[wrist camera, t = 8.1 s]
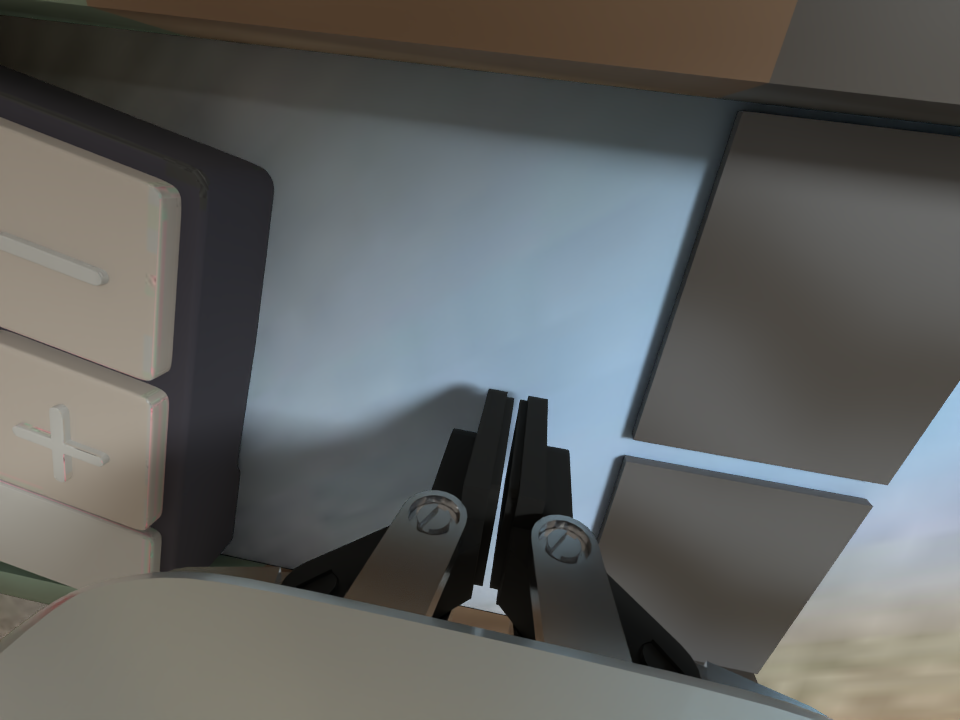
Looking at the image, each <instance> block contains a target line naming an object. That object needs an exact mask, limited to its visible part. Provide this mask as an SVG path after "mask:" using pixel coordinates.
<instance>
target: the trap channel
mask: <svg viewBox="0 0 960 720" xmlns="http://www.w3.org/2000/svg"><path fill="white" fill-rule="evenodd" d="M0 15H7V16H16V17H24V18H33V19H41V20H50V21H59V22H67V23H76V24H84V25H93V26H101V27H110V28H119V29H127V30H136V31H144V32H153V33H161V34H170V35H178V36H187V37H196V38H204V39H213V40H221V41H230V42H238V43H247V44H256V45H264V46H273V47H281V48H290V49H298V50H307V51H315V52H324V53H333V54H341V55H350V56H358V57H367V58H375V59H384V60H393V61H401V62H410V63H418V64H427V65H435V66H444V67H452V68H461V69H470V70H478V71H487V72H495V73H504V74H512V75H521V76H530V77H538V78H547V79H555V80H564V81H572V82H581V83H589V84H598V85H607V86H615V87H624V88H632V89H641V90H649V91H658V92H667V93H675V94H684V95H692V96H701V97H709V98H718V99H726V100H735V101H744V102H752V103H761V104H769V105H778V106H786V107H795V108H804V109H812V110H821V111H829V112H838V113H846V114H855V115H863V116H872V117H881V118H889V119H898V120H906V121H915V122H923V123H932V124H941V125H949V126H958V127H960V0H0ZM959 381H960V137H958V136H950V135H942V134H933V133H925V132H916V131H908V130H899V129H891V128H882V127H874V126H866V125H857V124H849V123H840V122H832V121H823V120H815V119H806V118H798V117H790V116H781V115H773V114H764V113H756V112H747V111H741V112H738V113H737V116H736V119H735V122H734V125H733V128H732V131H731V134H730V137H729V140H728V143H727V146H726V149H725V152H724V155H723V159H722V162H721V165H720V168H719V171H718V174H717V177H716V180H715V183H714V186H713V189H712V192H711V195H710V198H709V201H708V204H707V207H706V210H705V213H704V216H703V219H702V222H701V225H700V228H699V231H698V235H697V238H696V241H695V244H694V247H693V250H692V253H691V256H690V259H689V262H688V265H687V268H686V271H685V274H684V277H683V280H682V283H681V286H680V289H679V292H678V295H677V298H676V301H675V304H674V307H673V311H672V314H671V317H670V320H669V323H668V326H667V329H666V332H665V335H664V338H663V341H662V344H661V347H660V350H659V353H658V356H657V359H656V362H655V365H654V368H653V371H652V374H651V377H650V380H649V383H648V387H647V390H646V393H645V396H644V399H643V402H642V405H641V408H640V411H639V414H638V417H637V420H636V423H635V426H634V429H633V432H632V436H633V439H634V440H637V441H643V442H649V443H654V444H660V445H665V446H671V447H676V448H682V449H688V450H693V451H699V452H704V453H710V454H716V455H721V456H727V457H732V458H738V459H744V460H749V461H755V462H760V463H766V464H772V465H777V466H783V467H788V468H794V469H800V470H805V471H811V472H816V473H822V474H828V475H833V476H839V477H844V478H850V479H856V480H861V481H867V482H872V483H878V484H884V485H888V484H889V482H890V481H891V480H892V478H893V477H894V475H895V474H896V472H897V471H898V469H899V468H900V466H901V465H902V464H903V462H904V461H905V459H906V458H907V456H908V455H909V453H910V452H911V450H912V449H913V448H914V446H915V445H916V443H917V442H918V440H919V439H920V437H921V436H922V435H923V433H924V432H925V430H926V429H927V427H928V426H929V424H930V423H931V421H932V420H933V419H934V417H935V416H936V414H937V413H938V411H939V410H940V408H941V407H942V406H943V404H944V403H945V401H946V400H947V398H948V397H949V395H950V394H951V392H952V391H953V390H954V388H955V387H956V385H957V384H958V382H959ZM872 507H873V506H872V505H871V504H870V503H869V502H868V500H867V499H863V498H858V497H852V496H847V495H841V494H836V493H830V492H825V491H819V490H814V489H808V488H803V487H797V486H792V485H786V484H781V483H775V482H770V481H764V480H759V479H753V478H748V477H742V476H737V475H731V474H726V473H720V472H715V471H709V470H704V469H698V468H693V467H687V466H682V465H676V464H671V463H665V462H660V461H654V460H648V459H643V458H637V457H632V456H626V455H625V456H624V459H623V463H622V466H621V469H620V472H619V475H618V478H617V481H616V484H615V487H614V490H613V493H612V496H611V499H610V502H609V505H608V508H607V511H606V514H605V517H604V520H603V523H602V526H601V529H600V532H599V536H598V539H597V542H598V545H599V548H600V552H601V555H602V559H603V562H604V566H605V569H606V573H607V574H608V575H609V576H610V577H612V578H613V579H614V580H615V581H616V582H617V583H618V584H619V585H620V586H621V587H622V588H623V589H624V590H625V591H626V592H627V593H628V594H629V595H630V596H631V597H632V598H633V599H634V600H635V601H636V602H637V603H638V604H639V605H641V606H642V607H643V608H644V609H645V610H646V611H647V612H648V613H649V614H650V615H651V616H652V617H653V618H654V619H655V620H656V621H657V622H658V623H659V624H660V625H661V626H662V627H663V628H664V629H665V630H666V631H667V632H668V633H670V634H671V635H672V636H673V637H674V638H675V639H676V640H677V641H678V642H679V643H680V644H681V645H682V646H683V647H684V649H685V650H686V651H687V652H688V653H689V654H690V656H691V657H692V659H693V660H694V662H696V663H698V664H700V665H703V666H704V664H705V663H706V661H708V662H710V663H713V664H715V665H717V666H719V667H722V668H724V669H726V670H729V671H731V672H733V673H735V674H738V675H740V676H742V677H744V678H747V679H749V680H751V681H754V682H756V683H757V680H756V678H755V675H754V673H755V674H758V672H759V671H760V670H761V668H762V667H763V665H764V664H765V662H766V661H767V659H768V658H769V657H770V655H771V654H772V652H773V651H774V649H775V648H776V646H777V645H778V643H779V642H780V641H781V639H782V638H783V636H784V635H785V633H786V632H787V630H788V629H789V627H790V626H791V625H792V623H793V622H794V620H795V619H796V617H797V616H798V614H799V613H800V612H801V610H802V609H803V607H804V606H805V604H806V603H807V601H808V600H809V598H810V597H811V596H812V594H813V593H814V591H815V590H816V588H817V587H818V585H819V584H820V583H821V581H822V580H823V578H824V577H825V575H826V574H827V572H828V571H829V569H830V568H831V567H832V565H833V564H834V562H835V561H836V559H837V558H838V556H839V555H840V554H841V552H842V551H843V549H844V548H845V546H846V545H847V543H848V542H849V540H850V539H851V538H852V536H853V535H854V533H855V532H856V530H857V529H858V527H859V526H860V524H861V523H862V522H863V520H864V519H865V517H866V516H867V514H868V513H869V511H870V510H871V509H872ZM209 567H276V566H271V565H266V564H262V563H257V562H252V561H248V560H243V559H238V558H234V557H229V556H224V555H219V556H218V557H217V558H216V559H215V560H214V562H213V563H212V564H211V565H210V566H209ZM280 569H281V572H292V571H293V570H290V569H285V568H280ZM75 590H78V589H76V588H73V587H70V586H67V585H65V584H62V583H59V582H56V581H54V580H51V579H48V578H46V577H43V576H40V575H37V574H35V573H32V572H29V571H26V570H24V569H21V568H18V567H15V566H13V565H10V564H7V563H4V562H2V561H0V593H1V594H5V595H10V596H14V597H18V598H23V599H27V600H31V601H35V602H40V603H44V604H48V605H49V604H51V603H52V602H54V601H56V600H57V599H59V598H61V597H63V596H65V595H67V594H69V593H71V592H73V591H75ZM451 622H455V623H460V624H464V625H469V626H473V627H477V628H482V629H486V630H491V631H495V632H500V633H504V634H509V623H510V619H509V618H508V616H504V615H499V614H495V613H490V612H485V611H481V610H476V609H471V608H467V607H462V606H457V607H456V608H454V612H453V617H452V620H451Z"/></svg>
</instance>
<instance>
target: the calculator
mask: <svg viewBox="0 0 960 720" xmlns="http://www.w3.org/2000/svg"><path fill="white" fill-rule="evenodd" d="M273 195H274V186H273V181H272V179H271V177H270V175H269V174H268V172H267V171H266V170H264V169H263V168H261V167H260V166H258V165H256V164H253V163H251V162H248V161H246V160H243V159H241V158H238V157H235V156H233V155H230V154H228V153H225V152H223V151H220V150H218V149H215V148H212V147H210V146H207V145H205V144H202V143H200V142H197V141H194V140H192V139H189V138H187V137H184V136H182V135H179V134H177V133H174V132H171V131H169V130H166V129H164V128H161V127H159V126H156V125H154V124H151V123H148V122H146V121H143V120H141V119H138V118H136V117H133V116H130V115H128V114H125V113H123V112H120V111H118V110H115V109H113V108H110V107H107V106H105V105H102V104H100V103H97V102H95V101H92V100H90V99H87V98H84V97H82V96H79V95H77V94H74V93H72V92H69V91H66V90H64V89H61V88H59V87H56V86H54V85H51V84H49V83H46V82H43V81H41V80H38V79H36V78H33V77H31V76H28V75H25V74H23V73H20V72H18V71H15V70H13V69H10V68H8V67H5V66H2V65H0V561H2V562H4V563H7V564H10V565H13V566H15V567H18V568H21V569H24V570H26V571H29V572H32V573H35V574H37V575H40V576H43V577H46V578H48V579H51V580H54V581H56V582H59V583H62V584H65V585H67V586H70V587H73V588H76V589H80V588H83V587H85V586H88V585H91V584H95V583H98V582H102V581H105V580H109V579H114V578H118V577H123V576H130V575H137V574H145V573H152V572H168V571H171V570H173V569H177V568H184V567H209V566H210V565H211V564H212V563H213V562H214V560H215V559H216V558H217V557H218V556H219V555H220V553H221V552H222V551H223V550H224V549H225V547H226V546H227V545H228V544H229V543H230V541H231V540H232V538H233V532H234V523H235V515H236V507H237V498H238V490H239V482H240V470H239V469H238V467H237V463H238V456H239V449H240V443H241V436H242V429H243V423H244V416H245V410H246V403H247V396H248V390H249V383H250V376H251V370H252V363H253V357H254V350H255V343H256V336H257V328H258V320H259V312H260V304H261V296H262V287H263V279H264V271H265V263H266V255H267V246H268V238H269V230H270V221H271V213H272V204H273Z"/></svg>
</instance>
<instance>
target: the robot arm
mask: <svg viewBox="0 0 960 720" xmlns="http://www.w3.org/2000/svg"><path fill="white" fill-rule="evenodd" d="M507 393H508V392H504V391H499V390H493V389H489V390H488V394H487V398H486V402H485V405H484V409H483V413H482V417H481V421H480V424H479V428H478V432H477V433H476V432H471V431H465V430H460V429H455V428H454V429H453V431H452V433H451V436H450V439H449V442H448V445H447V448H446V450H445V453H444V456H443V459H442V462H441V465H440V467H439V470H438V473H437V476H436V479H435V482H434V484H433V487H432V490H429V491H424V492H420V493H417V494H415V495H414V496H412V497H410V498H409V499H408V500H407V501H406V502H405V503H404V505H403V506H402V508H401V509H400V511H399V513H398V514H397V516H396V517H395V519H394V520H393V522H392V523H391V525H390V526H388V527H386V528H383V529H381V530H379V531H376V532H374V533H372V534H370V535H367V536H365V537H363V538H360V539H358V540H356V541H354V542H351V543H349V544H347V545H344V546H342V547H340V548H338V549H335V550H333V551H331V552H328V553H326V554H324V555H322V556H319V557H317V558H315V559H312V560H310V561H308V562H306V563H304V564H302V565H300V566H299V567H297V568H295V569H294V570H293V571H292V572H281V569H280V567H184V568H177V569H173V570H171V571H168V572H152V573H145V574H137V575H130V576H123V577H118V578H114V579H109V580H105V581H102V582H98V583H95V584H91V585H88V586H85V587H83V588H80V589H78V590H75V591H73V592H71V593H69V594H67V595H65V596H63V597H61V598H59V599H57V600H56V601H54V602H52V603H51V604H49V605H48V606H46V607H44V608H43V609H41V610H40V611H38V612H37V613H35V614H34V615H33V616H31V617H30V618H28V619H27V620H26V621H24V622H23V623H21V624H20V625H19V626H18V627H16V628H15V629H14V630H13V631H11V632H10V633H9V634H7V635H6V636H5V637H4V638H2V639H1V640H0V720H833V719H830V718H828V717H827V716H826V715H824V714H822V713H821V712H819V711H817V710H816V709H814V708H812V707H810V706H808V705H806V704H803V703H801V702H799V701H797V700H794V699H792V698H790V697H788V696H785V695H783V694H781V693H778V692H776V691H774V690H772V689H769V688H767V687H765V686H763V685H760V684H758V683H756V682H754V681H751V680H749V679H747V678H744V677H742V676H740V675H738V674H735V673H733V672H731V671H729V670H726V669H724V668H722V667H719V666H717V665H715V664H713V663H710V662H708V661H706V663H705V664H704V666H703V665H700V664H698V663H696V662H694V660H693V659H692V657H691V656H690V654H689V653H688V652H687V651H686V650H685V649H684V647H683V646H682V645H681V644H680V643H679V642H678V641H677V640H676V639H675V638H674V637H673V636H672V635H671V634H670V633H668V632H667V631H666V630H665V629H664V628H663V627H662V626H661V625H660V624H659V623H658V622H657V621H656V620H655V619H654V618H653V617H652V616H651V615H650V614H649V613H648V612H647V611H646V610H645V609H644V608H643V607H642V606H641V605H639V604H638V603H637V602H636V601H635V600H634V599H633V598H632V597H631V596H630V595H629V594H628V593H627V592H626V591H625V590H624V589H623V588H622V587H621V586H620V585H619V584H618V583H617V582H616V581H615V580H614V579H613V578H612V577H610V576H609V575H608V574H607V573H606V569H605V566H604V562H603V559H602V555H601V552H600V548H599V545H598V542H597V540H596V538H595V536H594V534H593V533H592V532H591V531H590V530H589V528H588V527H586V526H585V525H584V524H582V523H581V522H580V521H578V520H575V519H573V513H572V493H571V473H570V454H569V450H566V449H561V448H556V447H550V446H547V416H548V399H543V398H538V397H532V396H528V400H527V401H526V400H520V403H519V409H518V414H517V419H516V425H515V430H514V435H513V441H512V446H511V451H510V457H509V462H508V467H507V473H506V478H505V484H504V491H503V498H502V505H501V512H500V519H499V526H498V533H497V539H496V546H495V553H494V560H493V567H492V574H491V581H490V588H493V589H498V593H497V601H496V604H497V605H499V606H500V607H501V609H502V610H503V611H504V613H505V614H506V615H507V616H508V618H509V619H510V623H509V634H504V633H500V632H495V631H491V630H486V629H482V628H477V627H473V626H469V625H464V624H460V623H455V622H451V620H452V617H453V612H454V608H456V607H457V606H459V605H461V604H462V603H464V602H466V601H467V600H469V599H471V596H472V591H473V585H474V584H475V585H479V586H483V581H484V575H485V570H486V564H487V559H488V553H489V548H490V542H491V537H492V532H493V526H494V521H495V515H496V510H497V504H498V499H499V493H500V487H501V481H502V474H503V468H504V461H505V455H506V449H507V442H508V436H509V429H510V423H511V416H512V410H513V403H514V398H509V397H507Z"/></svg>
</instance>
